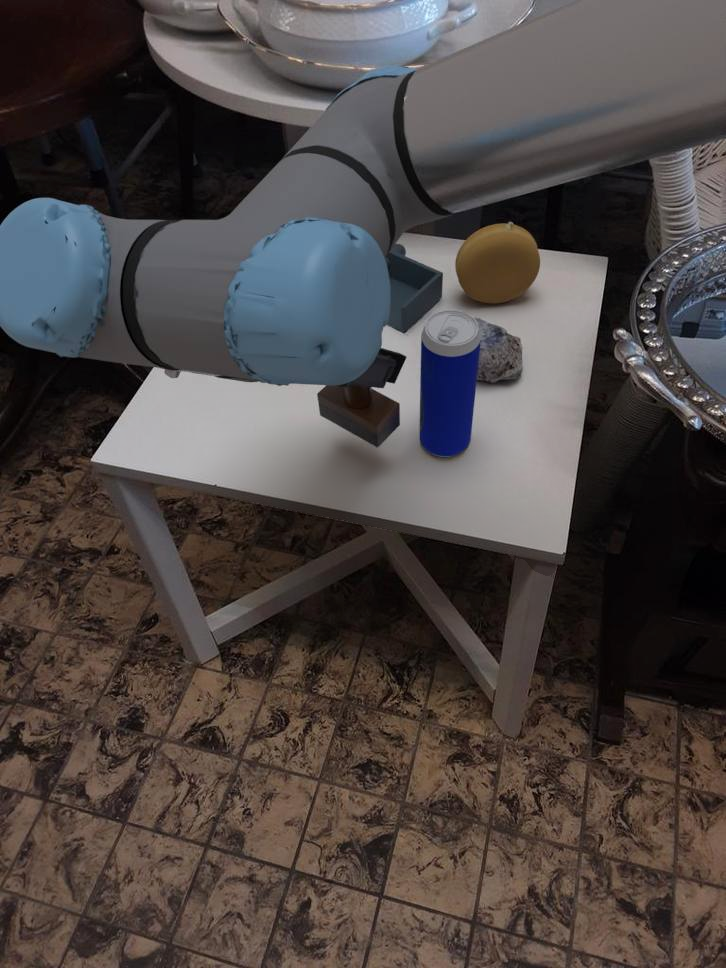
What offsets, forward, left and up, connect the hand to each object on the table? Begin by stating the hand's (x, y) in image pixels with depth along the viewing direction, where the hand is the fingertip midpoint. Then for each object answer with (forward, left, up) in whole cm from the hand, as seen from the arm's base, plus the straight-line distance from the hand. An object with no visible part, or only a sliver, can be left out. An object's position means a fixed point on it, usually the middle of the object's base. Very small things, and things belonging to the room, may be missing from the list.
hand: (382, 361), depth 71 cm
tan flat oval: (+2, -24, -10) cm, 26 cm away
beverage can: (-6, -3, -10) cm, 12 cm away
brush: (0, +4, -5) cm, 6 cm away
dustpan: (+15, -18, -10) cm, 26 cm away
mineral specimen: (-2, -14, -10) cm, 17 cm away
